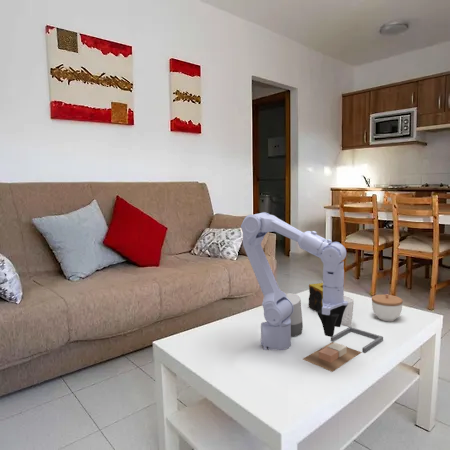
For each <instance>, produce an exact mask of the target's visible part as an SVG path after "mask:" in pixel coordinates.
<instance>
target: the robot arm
mask: <svg viewBox="0 0 450 450" xmlns="http://www.w3.org/2000/svg"><path fill="white" fill-rule="evenodd" d="M240 229H241V231H242V246H243V249H244V251H245V254H246V257H247V259H248V261H249V264H250V266H251V268H252V270H253V273H254V276H255V279H256V281H257V283H258V285H259V288H260V290H261V293H262V294H263V297H262V298H263V299H262V303H261V306H262V308H263V317H264V320H265V321H264V322H261V323H260V346H261V347H262V349H263V351H265V350H266V351H268V350H276V351H283V350H287V349H290V348H291V347H292V337H291V320H290V315H292V313H293V311H294V307H293V304H292V302H291V301H290V300H289V299H288V298H287V296H286V294H287V293H285V292H284V291H282V289H280V286H279V284H278V282H277V280H276V277H275V275H274V272H273V270H272V268H271V265H270V263H269V261H268V259H267V256H266V253H265V252H264V248H263V246H262V242H263V240H264V237H265V236H266V235H267V234H268V233H271V232H273V233H276V234H279V235H282V236H283V237H286V238H287V239H289V240H292V241H295V242H297V245H298V246H299V248H300V249H301V250H303V251H305V252H307V253H309V254H310V255H313V256H315V257H317V258H319V259H320V261H321V263H322V265H323V266H322V267H323V269H322V283H323V299H322V304H323V307H322V310H319V311H318V312H317V316H318V318H319V319H320V322H321V326H322V330H323V333H324V336H326V337H329V338H331V337H333V336H334V335H335V327H336V328H341V326H342V325H341V322H342V318H343V314H344V311H345V309H346V307H347V305H348V301H344V296H345V291H344V290H345V286H344V285H345V270H344V267H345V265H344V264H345V261H344V260H345V259H346V257H347V249H346V247H345V245H343V244H342V243H340V242H339V241H332V239H330V238H328V239H326V238H325V237H322V236H321V235H319V234H318V232H317V231H315V230H311V231H310V230H306V231H304V232H303V231H302V230H300V229H298V228H297V227H294V226H293V225H291V224H289V223H287V222H285V221H284V220H282V219H280V218H279V217H277V216H276V215H274V214H270V213H268V212H265V211H262V212H260V213H255V214H248V215H246V216H244V218H243V221H242V223H241V225H240Z"/></svg>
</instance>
